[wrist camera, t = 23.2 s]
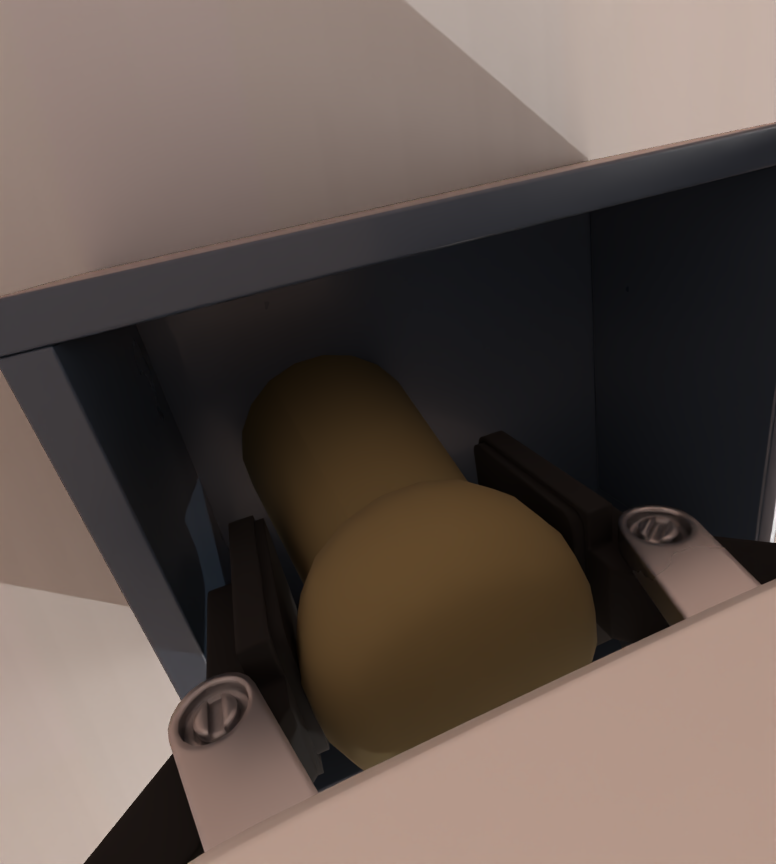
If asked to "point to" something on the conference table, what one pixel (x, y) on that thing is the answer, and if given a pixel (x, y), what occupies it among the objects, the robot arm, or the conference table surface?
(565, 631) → the cork
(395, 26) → the conference table surface
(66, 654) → the conference table surface
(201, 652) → the dark grey bin
